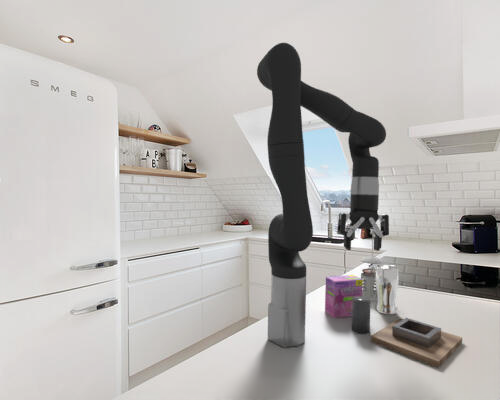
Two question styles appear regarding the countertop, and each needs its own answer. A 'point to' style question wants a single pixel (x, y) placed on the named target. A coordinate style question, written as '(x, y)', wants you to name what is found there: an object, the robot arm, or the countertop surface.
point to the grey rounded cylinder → (361, 315)
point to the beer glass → (386, 288)
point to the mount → (418, 341)
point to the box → (341, 294)
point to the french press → (370, 276)
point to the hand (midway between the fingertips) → (362, 249)
